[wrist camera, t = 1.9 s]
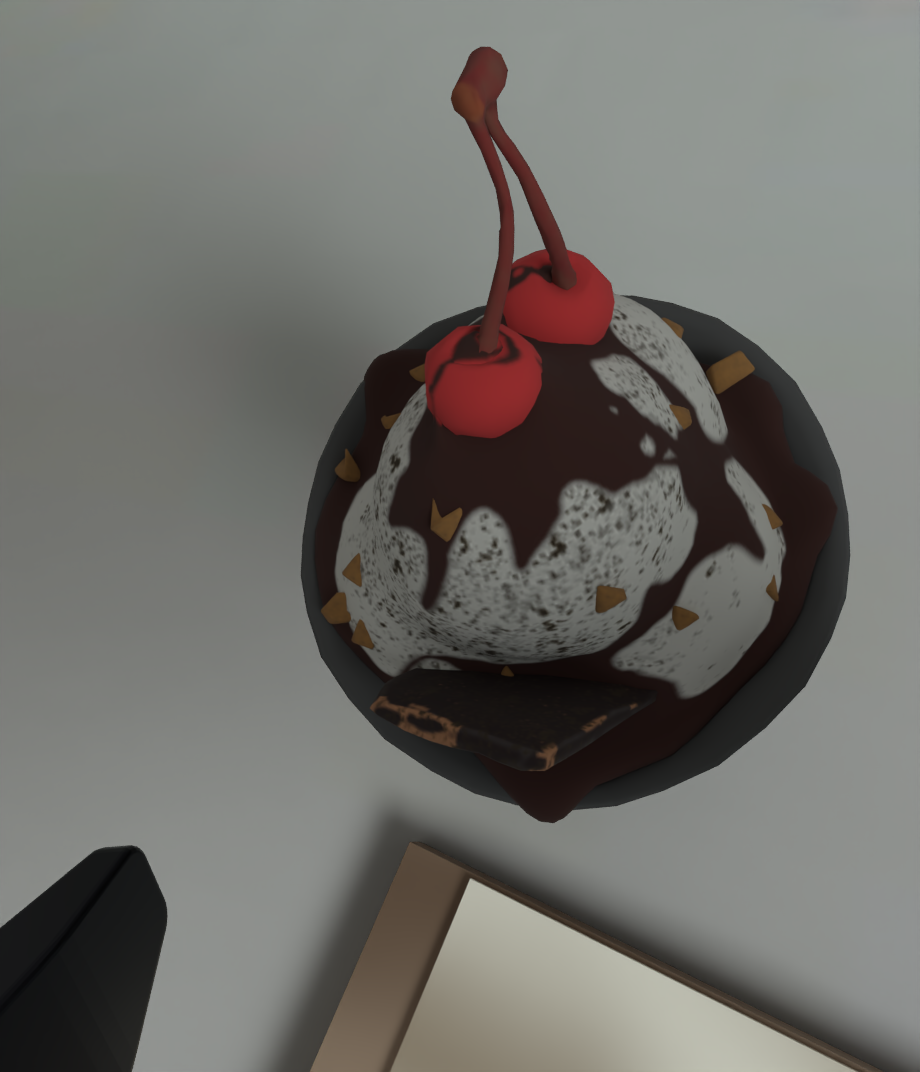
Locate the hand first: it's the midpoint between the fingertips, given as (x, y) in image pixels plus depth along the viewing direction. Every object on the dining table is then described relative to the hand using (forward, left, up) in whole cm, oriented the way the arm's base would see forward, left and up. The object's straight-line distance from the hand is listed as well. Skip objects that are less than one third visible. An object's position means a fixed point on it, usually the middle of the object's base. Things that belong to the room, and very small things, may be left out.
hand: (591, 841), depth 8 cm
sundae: (+3, +2, -11) cm, 12 cm away
